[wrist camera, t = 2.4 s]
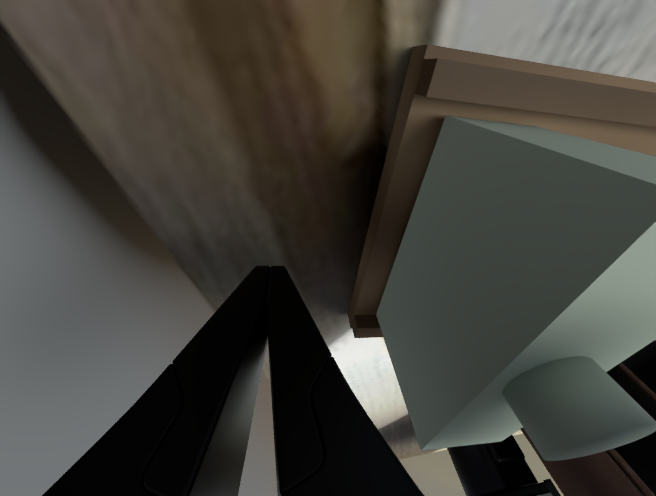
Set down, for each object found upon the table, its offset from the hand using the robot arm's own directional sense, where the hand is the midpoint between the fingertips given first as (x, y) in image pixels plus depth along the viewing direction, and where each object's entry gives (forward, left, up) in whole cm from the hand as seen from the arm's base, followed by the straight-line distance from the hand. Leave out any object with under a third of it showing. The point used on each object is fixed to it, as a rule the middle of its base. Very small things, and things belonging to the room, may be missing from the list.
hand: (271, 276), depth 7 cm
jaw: (0, -6, -2) cm, 7 cm away
